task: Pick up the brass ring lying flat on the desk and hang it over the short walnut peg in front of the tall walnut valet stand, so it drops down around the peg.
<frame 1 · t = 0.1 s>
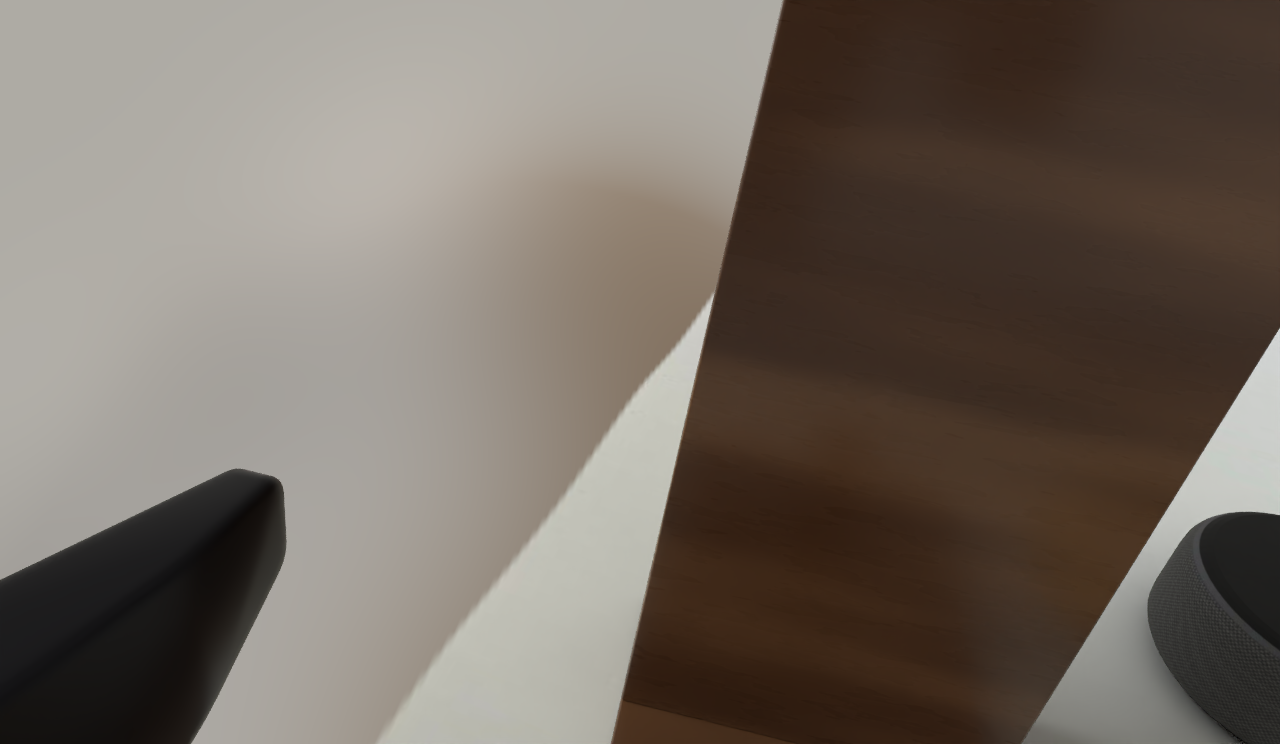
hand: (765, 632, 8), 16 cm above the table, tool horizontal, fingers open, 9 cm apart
smart speaker: (1270, 684, 32), on the table
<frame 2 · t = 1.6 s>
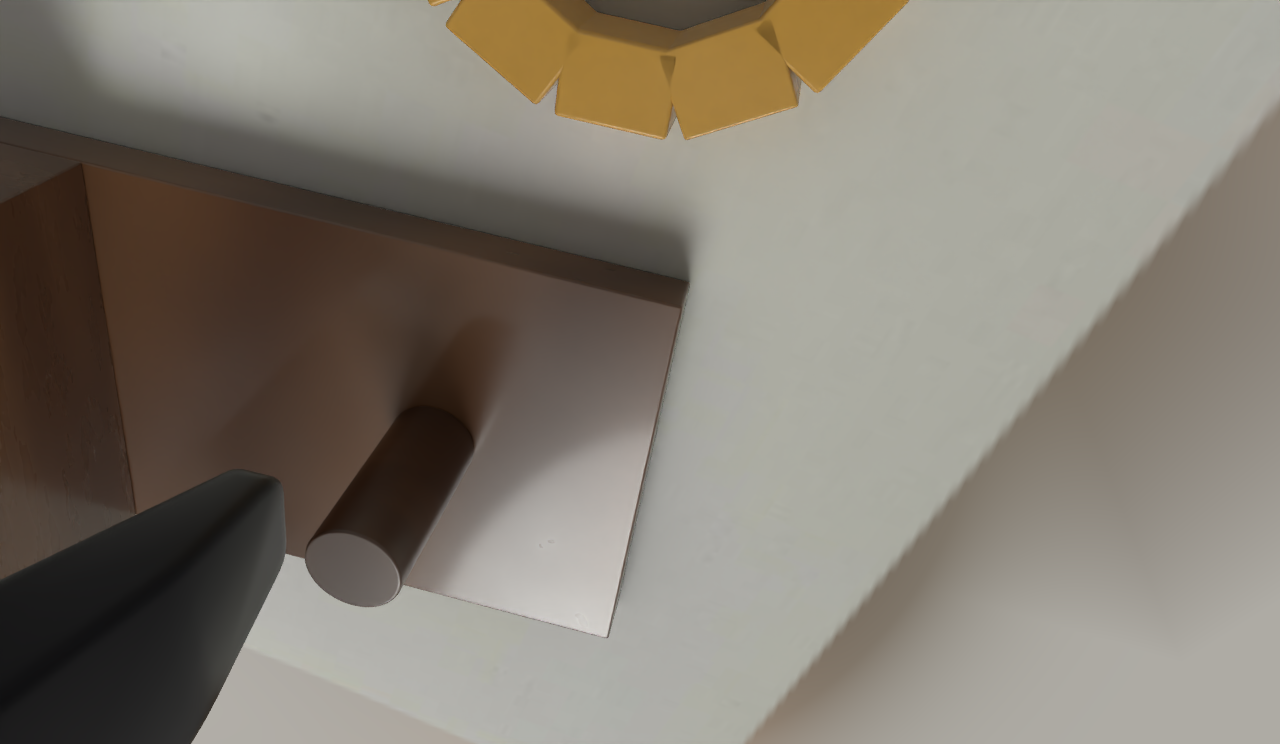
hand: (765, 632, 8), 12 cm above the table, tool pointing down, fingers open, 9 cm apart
valet stand: (451, 412, 23), on the table
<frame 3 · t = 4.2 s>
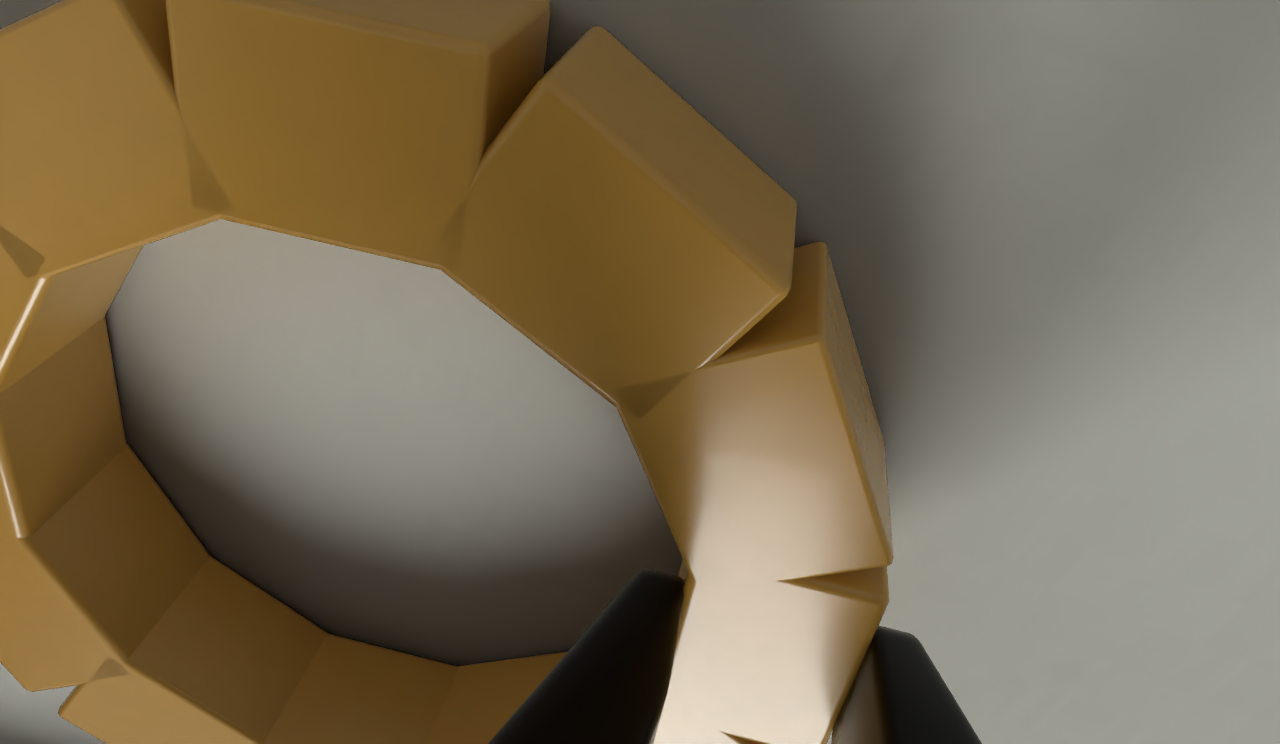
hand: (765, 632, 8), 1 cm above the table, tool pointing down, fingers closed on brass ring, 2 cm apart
brass ring: (401, 448, 10), on the table, touching gripper
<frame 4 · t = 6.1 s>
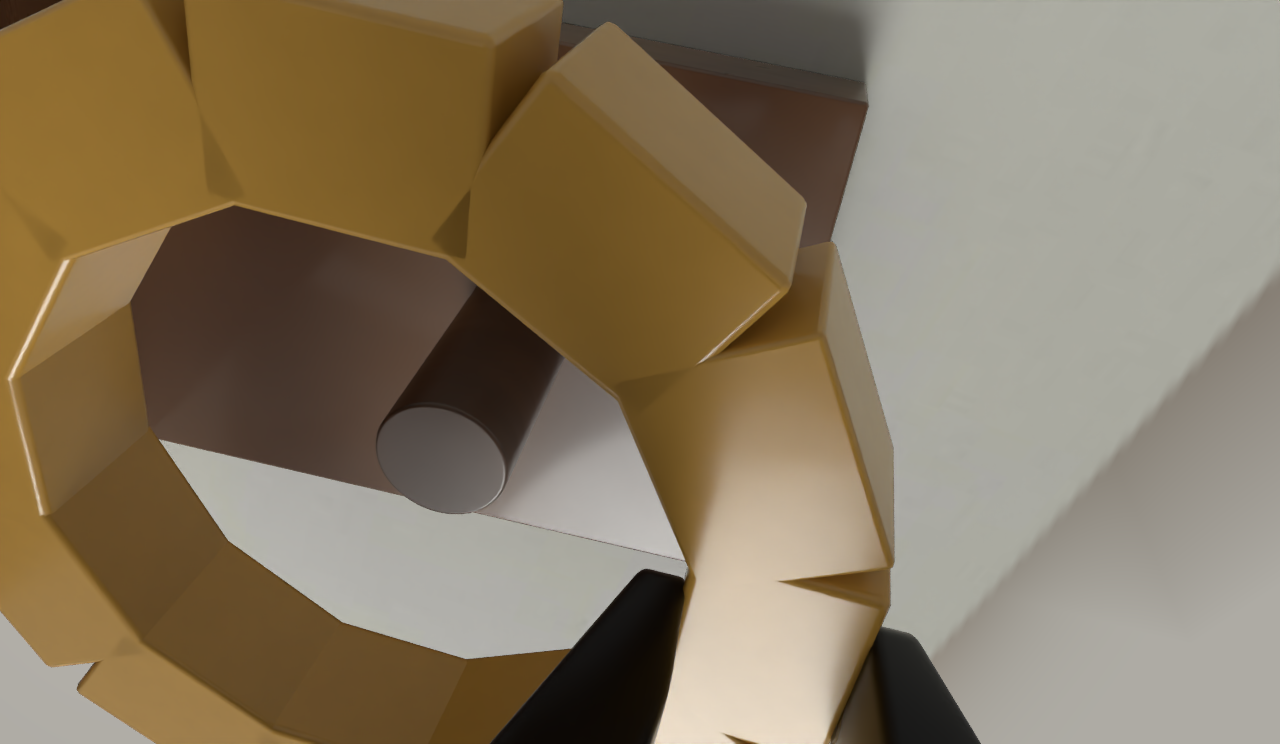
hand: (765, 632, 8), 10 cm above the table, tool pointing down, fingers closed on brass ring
valet stand: (539, 288, 18), on the table
brass ring: (414, 439, 10), point 9 cm above the table, touching gripper
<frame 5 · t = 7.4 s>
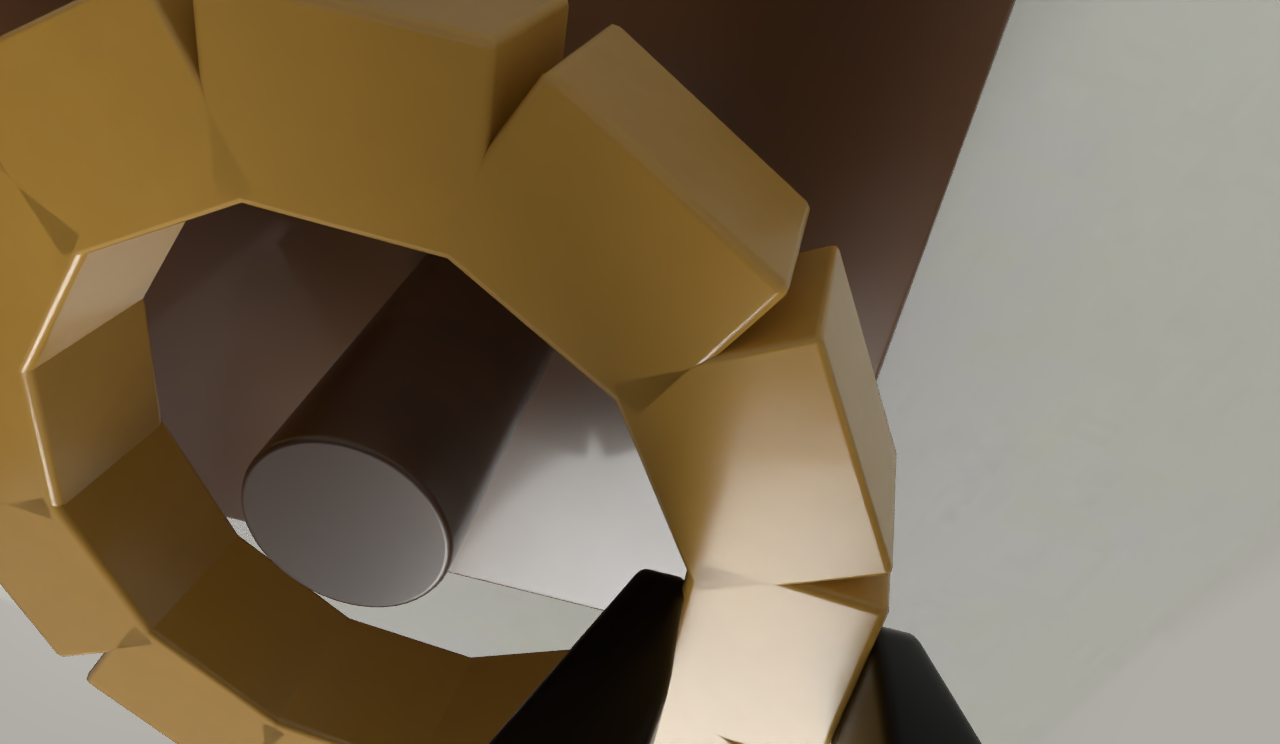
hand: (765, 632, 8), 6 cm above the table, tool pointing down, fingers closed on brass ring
valet stand: (515, 263, 13), on the table
brass ring: (420, 438, 10), point 4 cm above the table, touching gripper
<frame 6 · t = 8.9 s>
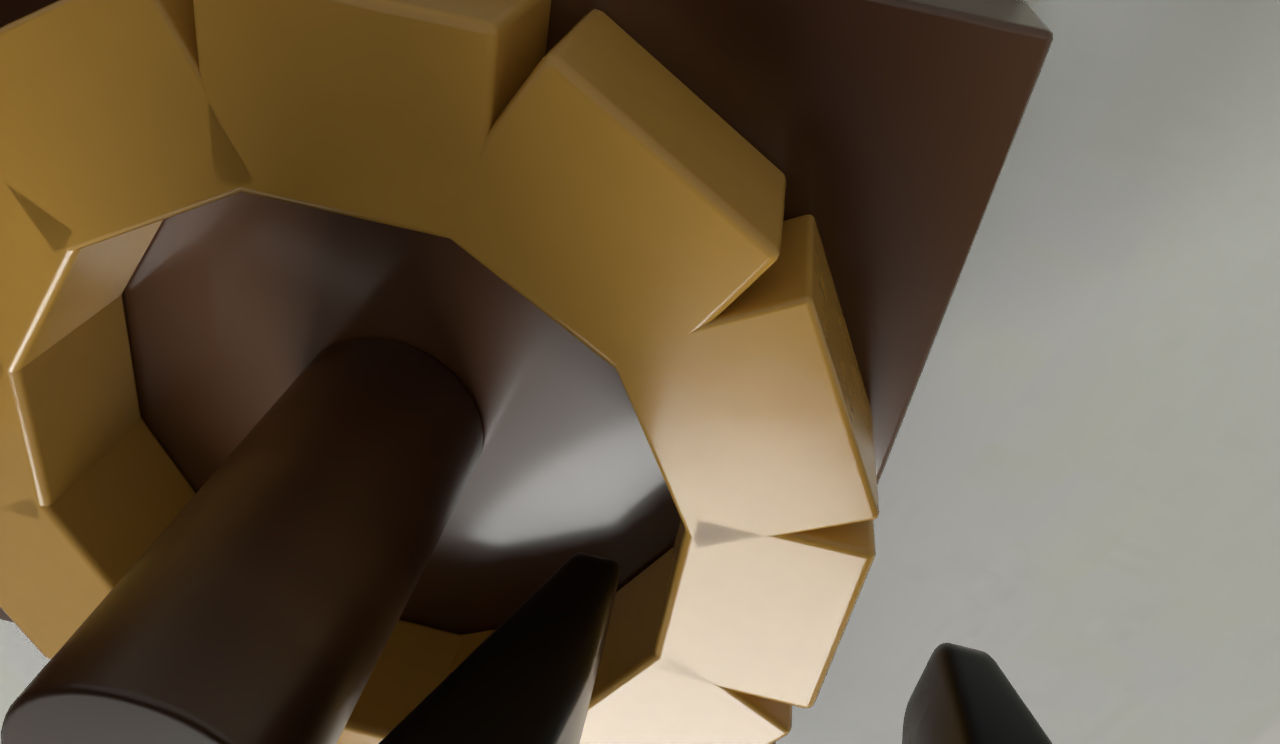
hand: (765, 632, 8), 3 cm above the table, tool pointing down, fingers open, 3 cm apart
valet stand: (431, 360, 11), on the table
brass ring: (408, 420, 10), point 1 cm above the table, touching valet stand
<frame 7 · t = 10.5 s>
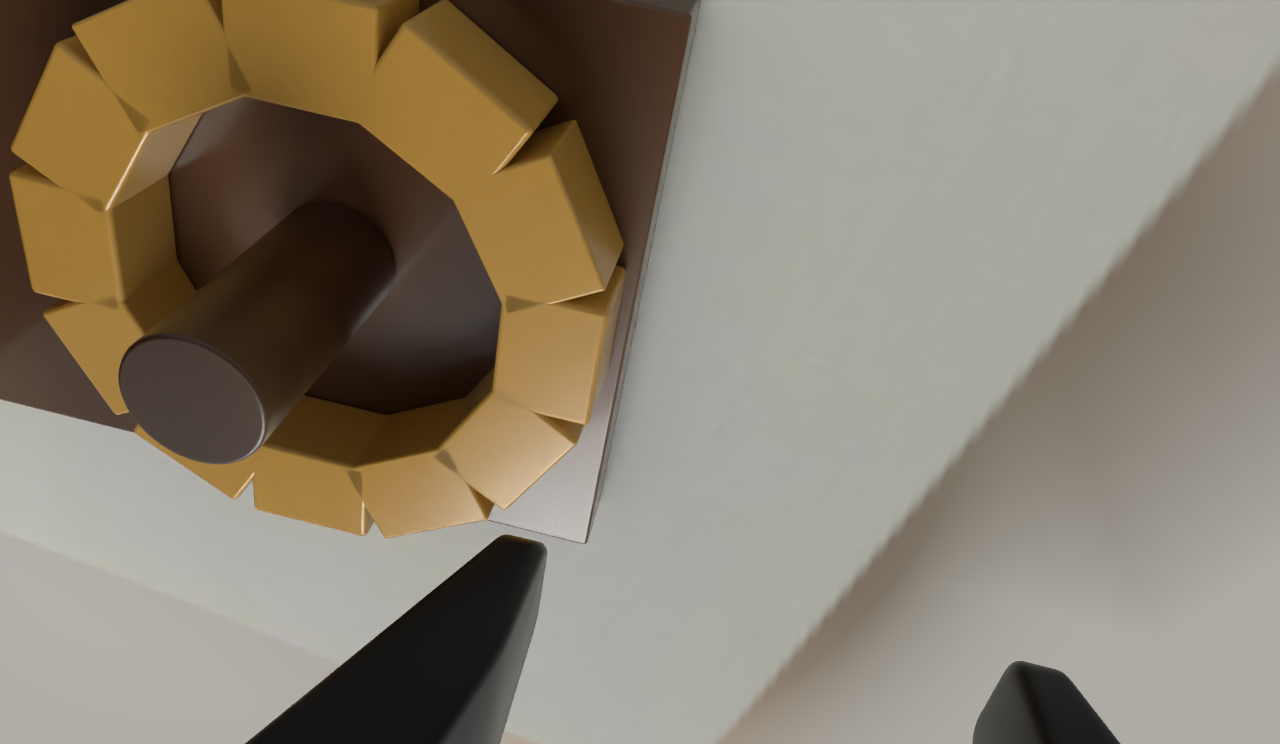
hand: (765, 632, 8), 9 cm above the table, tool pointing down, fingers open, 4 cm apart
valet stand: (366, 228, 17), on the table
brass ring: (347, 258, 16), point 1 cm above the table, touching valet stand
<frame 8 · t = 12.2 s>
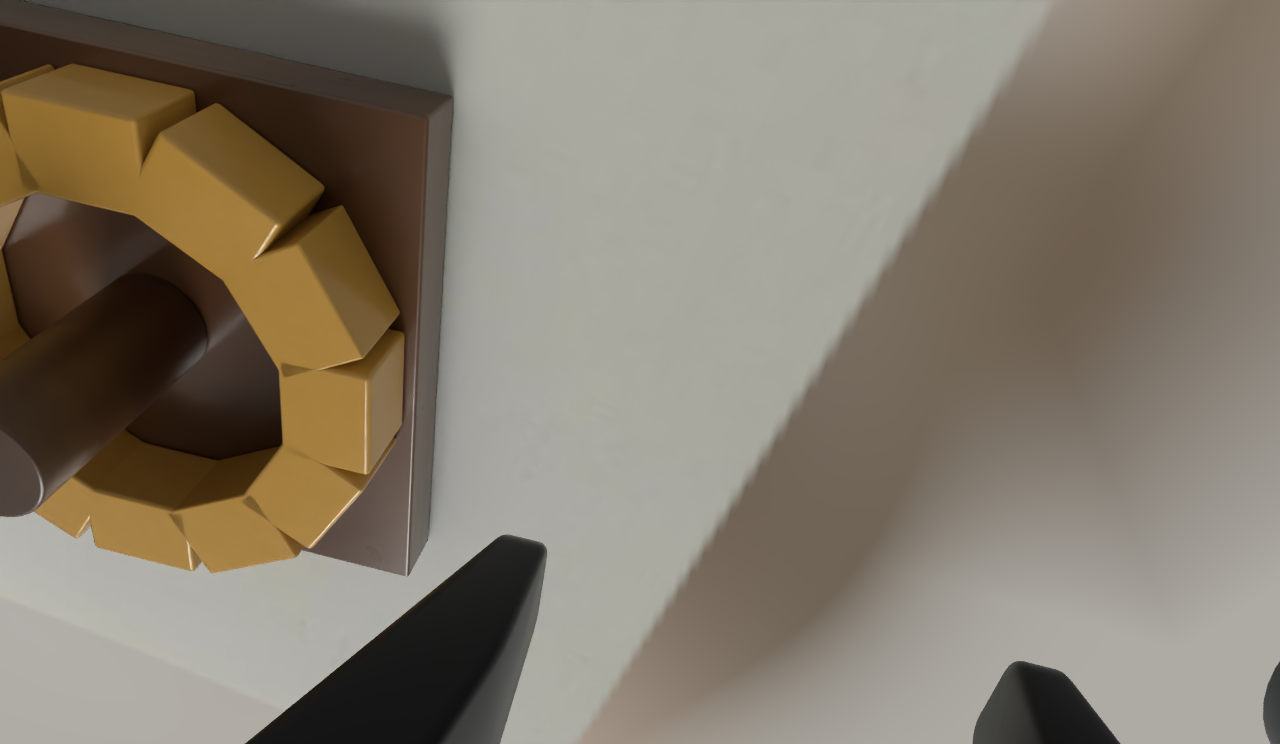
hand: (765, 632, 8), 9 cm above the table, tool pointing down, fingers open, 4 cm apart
valet stand: (193, 292, 19), on the table
brass ring: (165, 322, 18), point 1 cm above the table, touching valet stand
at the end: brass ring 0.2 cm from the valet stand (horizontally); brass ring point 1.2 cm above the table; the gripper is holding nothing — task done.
